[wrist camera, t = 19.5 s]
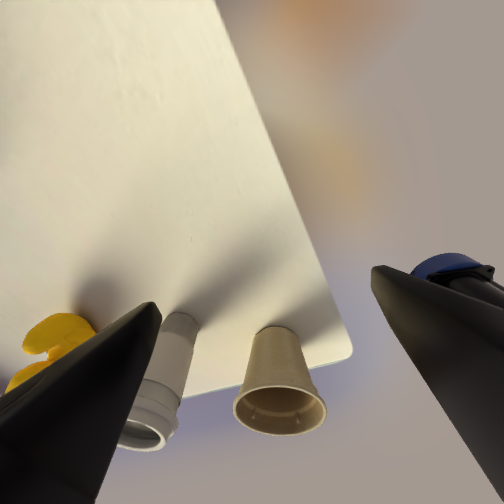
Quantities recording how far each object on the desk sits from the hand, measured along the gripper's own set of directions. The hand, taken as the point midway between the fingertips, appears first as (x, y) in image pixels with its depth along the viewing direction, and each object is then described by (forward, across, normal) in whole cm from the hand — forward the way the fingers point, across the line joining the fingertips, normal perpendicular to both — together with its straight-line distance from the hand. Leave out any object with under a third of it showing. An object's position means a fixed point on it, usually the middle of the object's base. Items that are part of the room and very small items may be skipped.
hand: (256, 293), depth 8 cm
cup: (+13, +14, +14) cm, 23 cm away
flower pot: (+13, +2, +19) cm, 23 cm away
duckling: (+13, +28, +12) cm, 33 cm away
